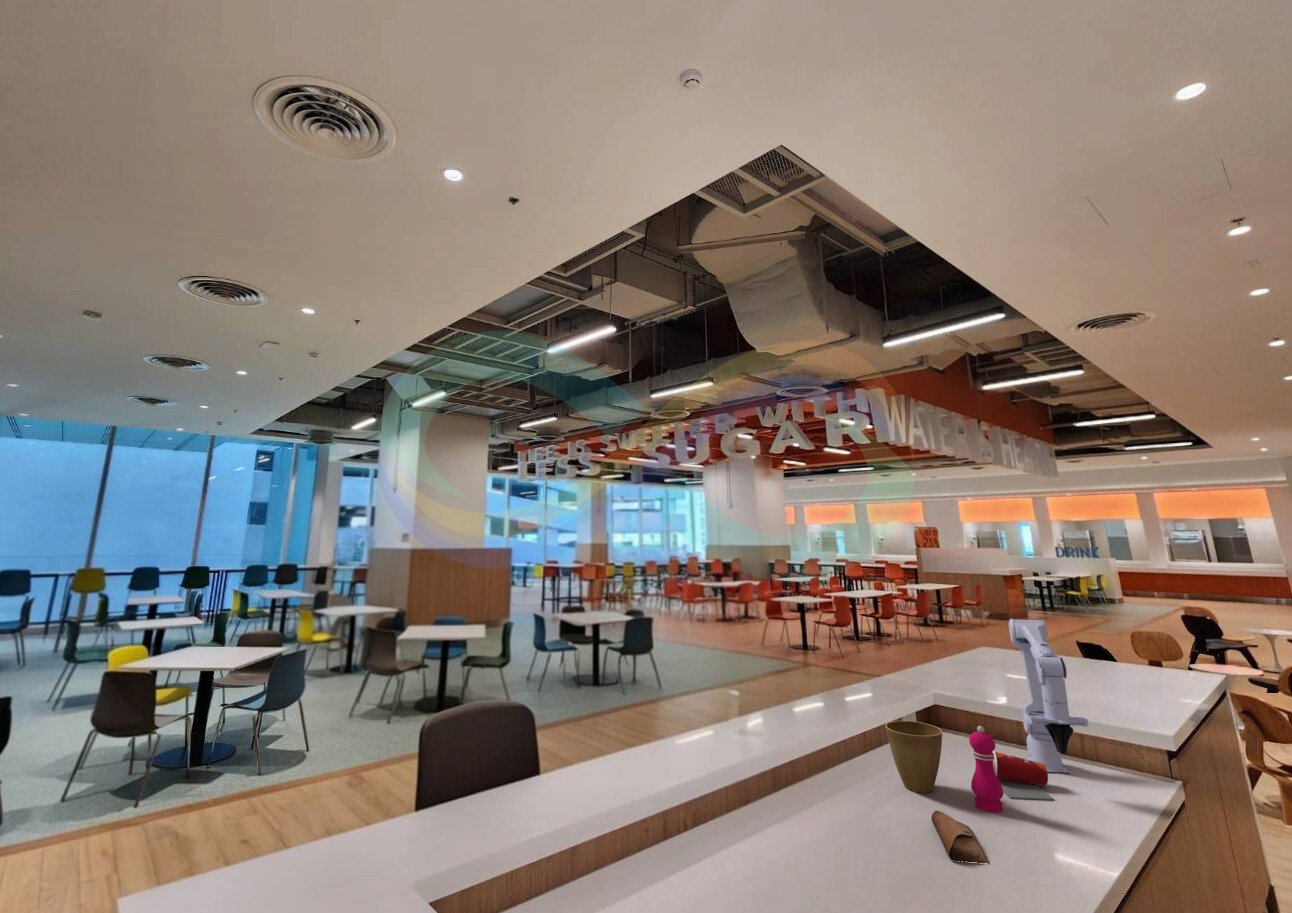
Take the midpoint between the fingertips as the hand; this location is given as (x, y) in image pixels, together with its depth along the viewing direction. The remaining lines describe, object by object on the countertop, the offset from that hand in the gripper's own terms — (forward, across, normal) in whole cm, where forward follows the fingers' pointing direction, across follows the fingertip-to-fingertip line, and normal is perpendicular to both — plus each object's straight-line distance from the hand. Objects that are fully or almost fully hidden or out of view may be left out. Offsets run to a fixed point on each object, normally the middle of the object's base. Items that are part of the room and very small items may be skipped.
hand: (1061, 752), depth 156 cm
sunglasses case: (+11, -40, -32) cm, 52 cm away
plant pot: (+10, -39, -1) cm, 41 cm away
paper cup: (+7, -3, +3) cm, 9 cm away
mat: (+10, -12, +2) cm, 16 cm away
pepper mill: (+10, -25, -12) cm, 30 cm away
